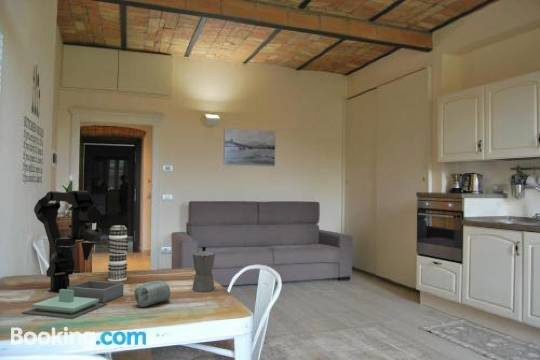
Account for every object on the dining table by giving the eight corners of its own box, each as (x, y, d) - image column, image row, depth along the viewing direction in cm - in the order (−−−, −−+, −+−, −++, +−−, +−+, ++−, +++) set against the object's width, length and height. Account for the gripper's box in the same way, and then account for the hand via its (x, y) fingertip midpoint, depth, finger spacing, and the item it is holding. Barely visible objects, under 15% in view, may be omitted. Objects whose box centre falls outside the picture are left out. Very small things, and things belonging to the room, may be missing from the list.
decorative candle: (123, 281, 187) (124, 226, 188) (103, 281, 187) (104, 226, 188) (130, 277, 196) (131, 224, 197) (111, 277, 196) (112, 224, 197)
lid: (31, 310, 138) (32, 292, 138) (59, 301, 150) (60, 284, 151) (73, 315, 134) (73, 296, 134) (98, 305, 146) (99, 287, 146)
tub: (66, 300, 153) (66, 287, 153) (88, 293, 165) (88, 280, 165) (103, 303, 149) (103, 290, 149) (123, 295, 161) (123, 283, 161)
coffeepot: (216, 292, 167) (216, 248, 168) (192, 293, 165) (193, 249, 166) (212, 284, 182) (213, 243, 183) (191, 285, 180) (191, 244, 181)
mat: (21, 313, 136) (21, 312, 136) (60, 300, 153) (60, 299, 153) (72, 318, 131) (72, 317, 131) (106, 305, 148) (106, 303, 148)
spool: (143, 302, 140) (143, 274, 145) (128, 310, 145) (128, 282, 150) (177, 304, 149) (175, 278, 154) (162, 312, 154) (160, 286, 159)
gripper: (79, 224, 151) (78, 267, 151) (111, 221, 169) (110, 259, 169) (54, 223, 154) (53, 265, 154) (88, 220, 172) (87, 257, 172)
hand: (78, 261), depth 162 cm, fingers open, 9 cm apart
